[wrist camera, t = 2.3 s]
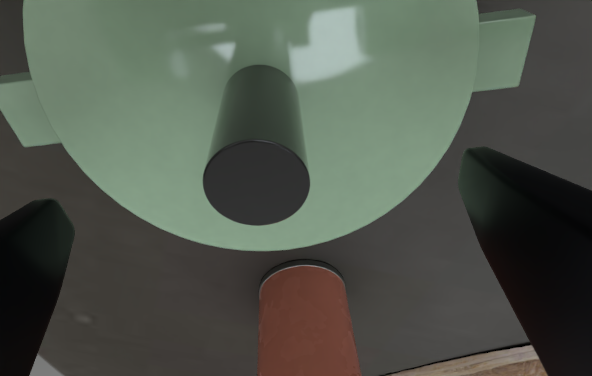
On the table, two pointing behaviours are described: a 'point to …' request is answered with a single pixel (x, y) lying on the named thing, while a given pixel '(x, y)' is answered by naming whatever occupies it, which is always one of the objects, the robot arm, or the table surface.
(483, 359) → the brown flat tapered piece
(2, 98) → the pot
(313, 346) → the reddish translucent cylinder
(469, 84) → the pot lid
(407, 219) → the table surface
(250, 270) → the table surface
